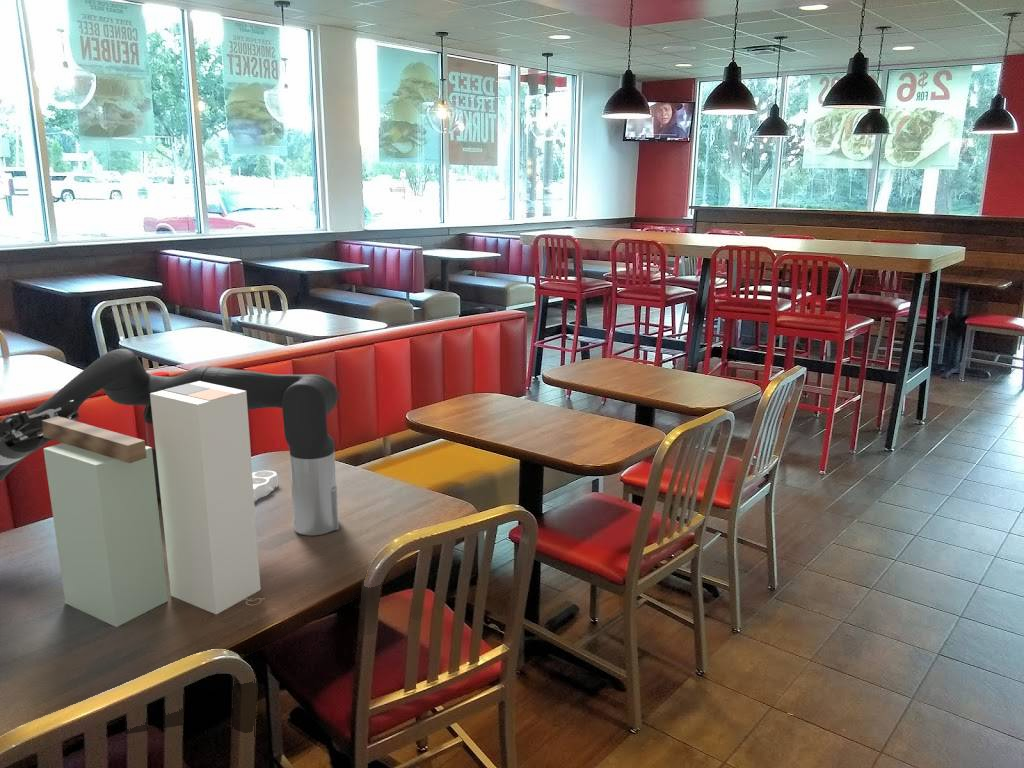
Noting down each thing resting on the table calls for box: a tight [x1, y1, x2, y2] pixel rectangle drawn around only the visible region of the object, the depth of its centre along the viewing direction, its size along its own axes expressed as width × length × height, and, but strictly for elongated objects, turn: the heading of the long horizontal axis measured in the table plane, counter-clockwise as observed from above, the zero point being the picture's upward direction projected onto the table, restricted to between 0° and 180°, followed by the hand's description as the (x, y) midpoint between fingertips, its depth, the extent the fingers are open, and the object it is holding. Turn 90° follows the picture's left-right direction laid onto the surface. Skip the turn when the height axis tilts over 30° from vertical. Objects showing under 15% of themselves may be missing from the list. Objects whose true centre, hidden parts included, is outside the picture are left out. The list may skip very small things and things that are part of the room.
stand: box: [150, 381, 262, 615], centre depth 140 cm, size 12×10×38 cm
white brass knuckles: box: [252, 470, 279, 502], centre depth 189 cm, size 3×18×15 cm
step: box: [42, 442, 169, 628], centre depth 138 cm, size 14×10×29 cm
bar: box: [42, 416, 147, 463], centre depth 134 cm, size 24×3×3 cm, turn 60°
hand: (50, 411), depth 139 cm, fingers open, 8 cm apart
